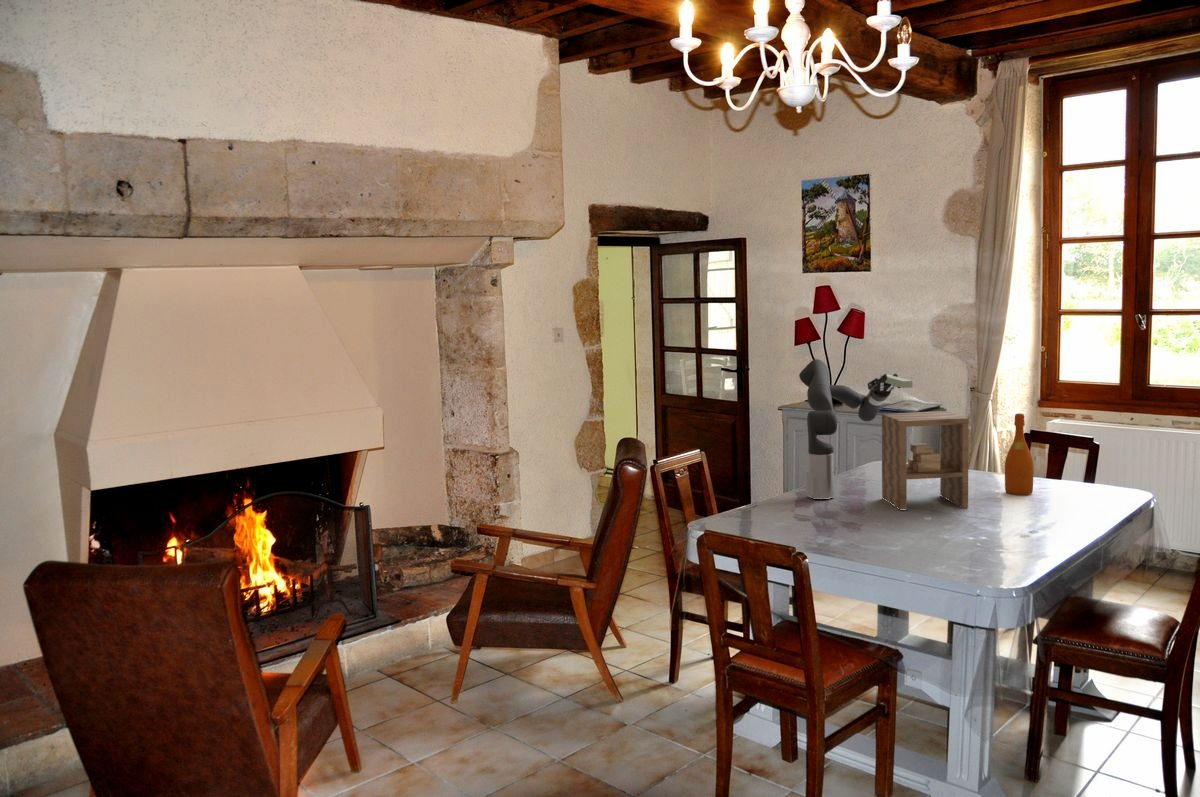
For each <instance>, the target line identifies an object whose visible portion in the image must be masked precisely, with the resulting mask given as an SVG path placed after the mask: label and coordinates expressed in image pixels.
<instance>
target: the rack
mask: <svg viewBox="0 0 1200 797" xmlns="http://www.w3.org/2000/svg"><path fill="white" fill-rule="evenodd" d="M969 420H970V419H969V417H966V416H963V415H960V414H956V413H953V412H950V411H947V410H945V411H944V410H943V411H942V410H939V411H938V410H937V411H919V412H918V411H917V412H916V411H915V412H896V413H894V412H893V413H881V495H882V496H881V497H883V498H884V499H886V500H887V501H889V502H891V503H892V504H894V505H895V506H896V507H898V508H899V509H907V508H908V506H907V505H908V502H907V501H908V500H907V498H908V497H907V496H908V495H907V490H908V488H907V484H908V483H907V480H922V479H927V480H928V479H940V482H939V483H940V486H939V489H940V490H939V491H940V492H939V493H940V495H942V496H943V497H945V498H947V499H949V500H950V501H952V502H954V503H955V504H954V503H953V504H954V505H956V504H957V505H956V506H958V505H959V506H961V507H962V508H961V507H960V508H961V509H967V508H966V507H968V508H969V423H970V422H969ZM929 426H930V427H931V426H940V430H939V431H940V434H939V435H940V436H939V437H940V439H939V440H940V443H939V444H940V445H939V446H940V447H939V448H940V452H939V453H938V452H936V451H934V446H933V445H932V444H929V443H926V442H925V443H910V445H909V447H910V448H909V450H910V452H911V453H912V458H911V457H910V458H908V459H907V427H929ZM943 497H942V498H943ZM945 498H944V499H945ZM947 499H946V500H947ZM950 501H949V502H950ZM952 502H951V503H952ZM959 506H958V507H959ZM907 510H908V509H907Z"/></svg>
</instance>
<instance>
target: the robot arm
mask: <svg viewBox="0 0 1200 797" xmlns="http://www.w3.org/2000/svg"><path fill="white" fill-rule="evenodd" d="M882 375H883V376H882V377H881V378H880V377H879V378H877V377H875V378H874V379H872V380H871V381H869V382H868V383H867V388H868V389H867V390H869V391H868V392H867V395H865V394H861V393H859V392H858V391H855V390H854V389H852V388H851V387H849V386H847V385H841V384H830V370H829V368H828V365H827V364H826V363H825V362H824V361H822V360H821V359H815V358H814V359H812V360H810V361H809V363H808V364H807V365H806V366H805V367H804V368H803V369H802V370H801V371H800V372H799V375H798V376H799V380H800V381H801V383H803V384H804V385H805V386H807V387H808V389H807V392H806V394H807V395H806V396H807V402H808V405H809V406H810V408H811V409H812V410H810V411H809V412H807V416H806V423H807V439H808V441H807V442H808V443H807V444H808V448H807V449H808V450H807V452H808V456H807V457H808V471H807V472H806V496H807V495H809V496H811V497H813V498H817V497H818V498H829V497H833V496H834V497H835V486H834V485H835V484H834V483H835V482H834V481H835V479H834V478H835V475H834V470H835V469H834V468H835V467H834V446H833V445H832V444H830V443H827V442H825V441H823V440H821V439H819V438H818V437H817V436H831V435H834V434H835V433H836V432H837V429H838V418H837V415H836V411H835V408H834V405H833V404H834V403H833V399H835V400H837V401H838V402H840V403H842V404H843V405H844V406H847V407H848V408H851V409H852V410H854V409H857V408H858V407H859V408H858V415H857V416H858V418H859V419H860V420H861V421H863V422H871V421H873V420H874V419H875V418H876V416H877V414H878V411H879V409H880V407H881V406H882V404H884V402H885V401H886V400H887V399H888V397H890V395H891V393H892V390H894V389H895V388H897V389H901V388H902V387H898V386H895V385H892V384H888V383H885V381H886V380H887V375H888V374H887V373H884V374H882ZM892 376H896V377H899V376H898V374H897V373H894V374H893V375H892Z"/></svg>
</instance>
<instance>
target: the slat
mask: <svg viewBox="0 0 1200 797" xmlns="http://www.w3.org/2000/svg"><path fill="white" fill-rule="evenodd" d="M883 375H884V374H880V375H879V379H880V378H881V377H882V376H883ZM885 383H888V384H892V385H895V386H898V387H901V388H902V389H908V388H910V389H911V388H913V380H910V379H906V378H903V377H899V376H898V377H896V376H893V375H892V374H887V380H886V381H885ZM898 387H897V388H898Z"/></svg>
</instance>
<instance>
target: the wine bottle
mask: <svg viewBox="0 0 1200 797" xmlns="http://www.w3.org/2000/svg"><path fill="white" fill-rule="evenodd" d="M1013 425H1014V426H1015V432H1014V437H1013V438H1014V439H1013V441H1012V443H1011V445H1010V448H1009V449H1008V452H1007V454H1006V457H1005V462H1004V490H1005V492H1006V493H1007V494H1009V495H1013V496H1014V495H1015V496H1027V495H1031V494H1032V493H1033V492H1034V491H1033V490H1034V472H1035V471H1034V470H1035V469H1034V460H1033V456H1032V453H1031V450H1030V449H1029V446H1028V444H1027V442H1026V439H1025V434H1024V432H1025V431H1024V427H1025V414H1024V413H1021V412H1019V413H1015V415H1014V423H1013Z"/></svg>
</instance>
